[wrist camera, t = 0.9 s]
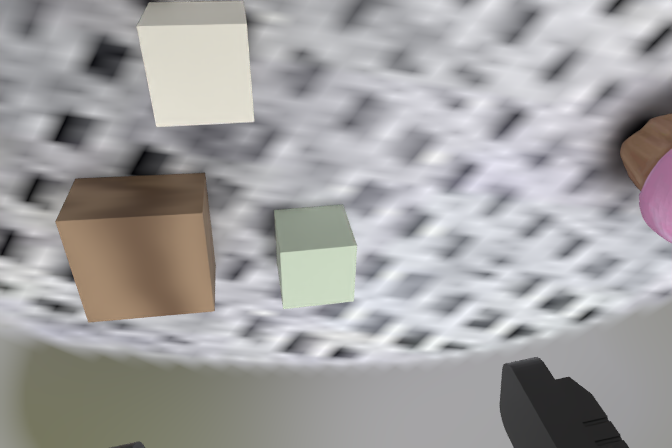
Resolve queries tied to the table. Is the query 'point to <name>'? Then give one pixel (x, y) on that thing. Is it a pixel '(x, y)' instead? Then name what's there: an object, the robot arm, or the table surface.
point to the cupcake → (652, 172)
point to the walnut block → (140, 245)
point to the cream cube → (197, 62)
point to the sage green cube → (315, 256)
